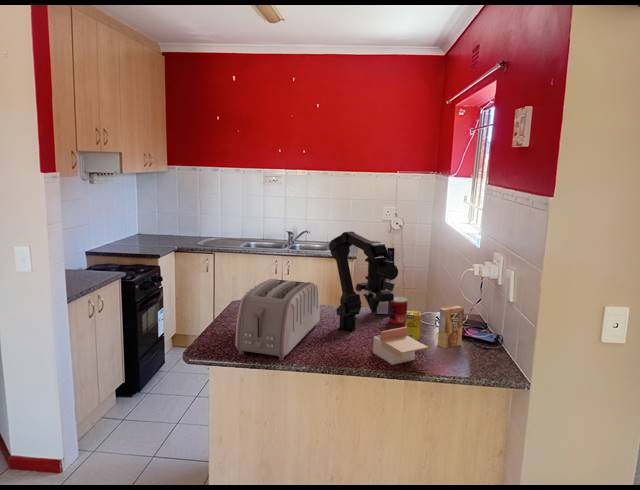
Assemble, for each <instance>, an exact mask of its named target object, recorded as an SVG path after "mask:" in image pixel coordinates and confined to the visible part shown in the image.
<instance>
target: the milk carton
mask: <svg viewBox="0 0 640 490" xmlns="http://www.w3.org/2000/svg"><path fill="white" fill-rule="evenodd" d="M386 281H388V282H390V283H392V280H389V279H386ZM385 291H388V292H391V293H392V291H390V290H387V289H385ZM381 292H383V291H381ZM389 309H390V301H386V302H379V304H378V307H377V309H376V312H375V313H373V314H374V316H375V317H376V316H377V317H378V316H379V317H389Z"/></svg>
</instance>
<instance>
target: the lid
mask: <svg viewBox="0 0 640 490" xmlns="http://www.w3.org/2000/svg"><path fill="white" fill-rule="evenodd" d="M380 341H381V342H382V347H383V348H385V349H387V350H388V351H390V352H392V353H393V354H395V355H397V356H398V357H400V358H402V359H403V353H408V352H413V351H415V352H417V351H422V352H424V353H426V354H428V353H429V346H427V345H425V344H424V343H421V342H420V341H416V340H414V339H413V338H411V337H409V336H407V327H405V326H404V327H398V328H391V329H387V330H382V331H380Z"/></svg>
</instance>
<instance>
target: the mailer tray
mask: <svg viewBox="0 0 640 490" xmlns="http://www.w3.org/2000/svg"><path fill="white" fill-rule="evenodd" d="M372 354H374V355H376V356H377V357H379V358H381V359H382V360H383V359H384V360H383V361H385V362H386V361H387V363H388V364H389V365H391V366H393V365H394V366H395V365H399V364H402V363H403V362H404V363H406V362H407V361H408V362H412V360H413V361H415V354H416V351H413V352H408V353H403V359H402V358H400V357H398V356H397V355H395V354H393V353H392V352H390V351H388V350H387V349H385V348H383V347H382V342H381V341H380V335H375V336H373V346H372ZM398 363H399V364H398ZM404 363H403V364H404Z"/></svg>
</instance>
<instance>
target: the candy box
mask: <svg viewBox="0 0 640 490" xmlns="http://www.w3.org/2000/svg"><path fill="white" fill-rule="evenodd" d="M464 312H465V310H464V308H463V307H461V306H459V305H454V306H447V307H440V309H439V321H438V331H437V332H438V333H437V346H439V347H441V348H442V349H446V348H452V347H457V346H461V345H462V337H463V326H464V325H463V324H464Z"/></svg>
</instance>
